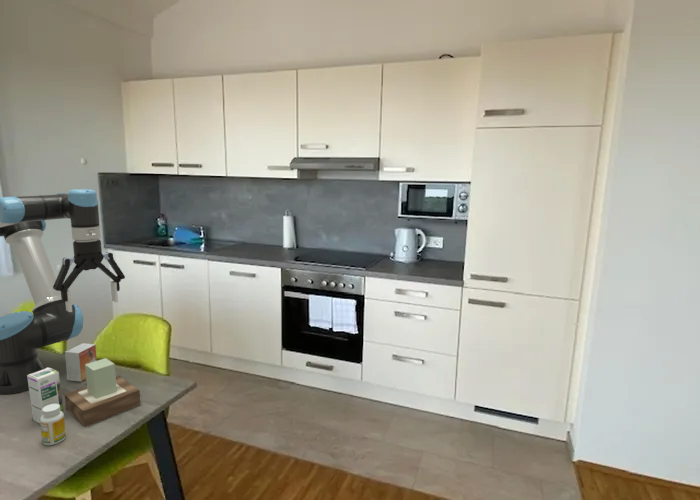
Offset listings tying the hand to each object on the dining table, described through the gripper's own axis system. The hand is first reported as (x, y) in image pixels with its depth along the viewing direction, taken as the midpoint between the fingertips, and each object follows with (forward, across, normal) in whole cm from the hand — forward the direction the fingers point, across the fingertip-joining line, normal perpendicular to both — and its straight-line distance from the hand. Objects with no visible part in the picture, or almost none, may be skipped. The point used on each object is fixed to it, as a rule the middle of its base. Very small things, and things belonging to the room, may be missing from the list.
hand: (92, 306), depth 145 cm
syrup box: (+29, -17, -7) cm, 34 cm away
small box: (+29, 0, +14) cm, 32 cm away
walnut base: (+29, -4, -12) cm, 31 cm away
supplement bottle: (+29, -20, -19) cm, 40 cm away
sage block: (+24, -4, -12) cm, 27 cm away
